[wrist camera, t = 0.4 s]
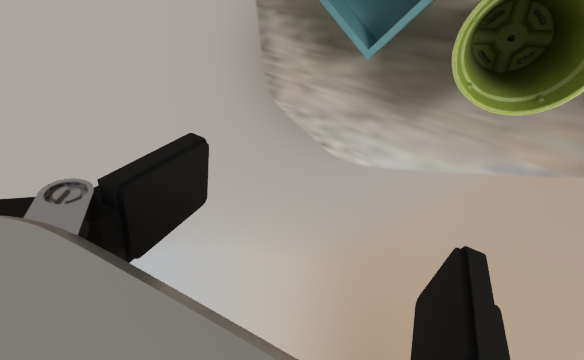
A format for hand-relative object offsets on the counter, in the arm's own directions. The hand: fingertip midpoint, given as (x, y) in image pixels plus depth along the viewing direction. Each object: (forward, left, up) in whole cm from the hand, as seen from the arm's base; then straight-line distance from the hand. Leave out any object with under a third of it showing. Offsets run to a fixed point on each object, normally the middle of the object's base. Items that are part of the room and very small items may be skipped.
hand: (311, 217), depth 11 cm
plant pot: (-9, +4, -28) cm, 29 cm away
